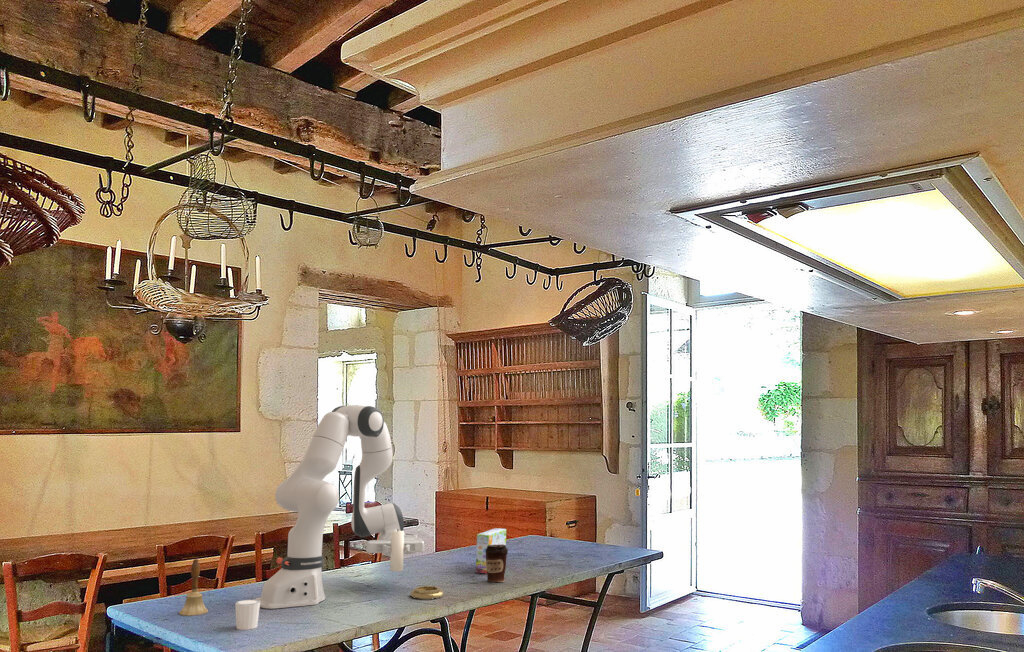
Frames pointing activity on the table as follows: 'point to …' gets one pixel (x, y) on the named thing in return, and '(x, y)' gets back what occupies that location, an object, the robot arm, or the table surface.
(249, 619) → the white tapered cup
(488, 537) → the snack box
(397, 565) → the candle
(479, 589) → the table surface
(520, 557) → the table surface
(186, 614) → the hand bell
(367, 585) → the table surface
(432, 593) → the candle dish
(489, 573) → the coffee cup
